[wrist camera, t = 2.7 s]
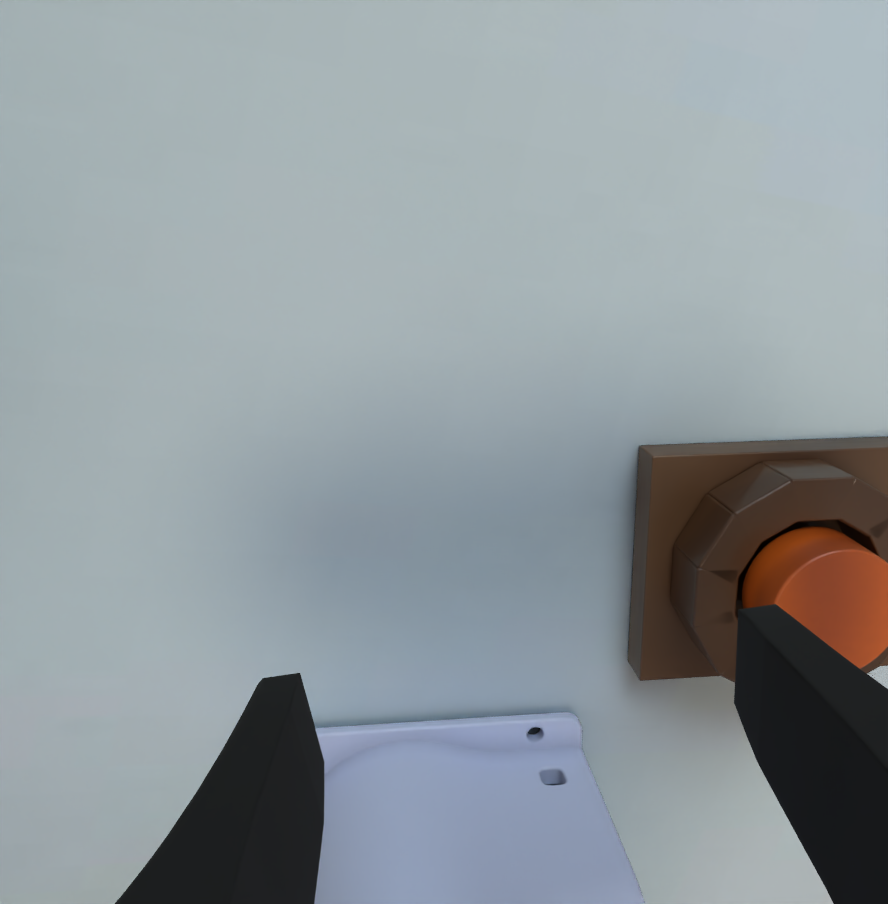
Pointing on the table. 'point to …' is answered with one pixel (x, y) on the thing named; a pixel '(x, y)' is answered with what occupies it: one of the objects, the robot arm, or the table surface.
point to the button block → (735, 536)
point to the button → (825, 589)
